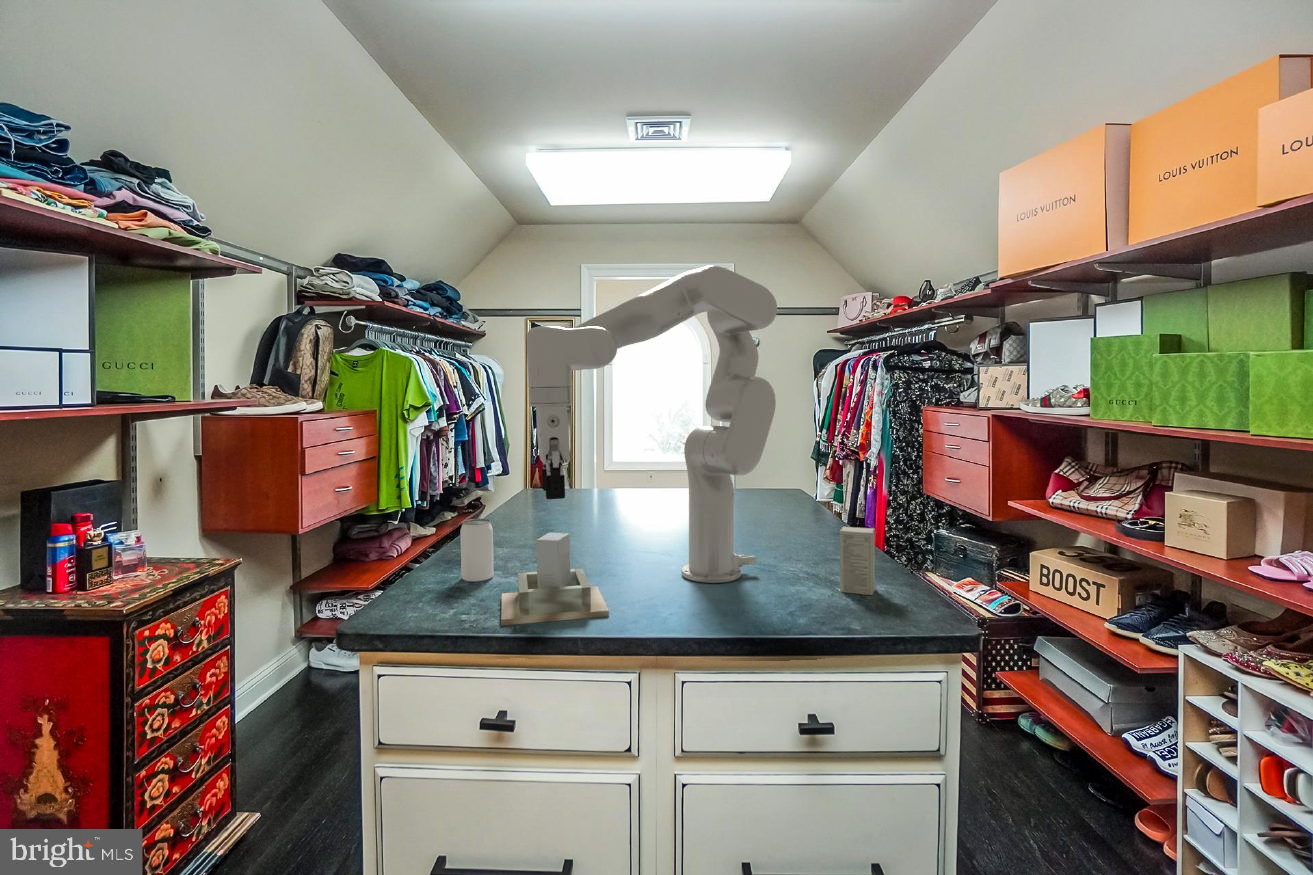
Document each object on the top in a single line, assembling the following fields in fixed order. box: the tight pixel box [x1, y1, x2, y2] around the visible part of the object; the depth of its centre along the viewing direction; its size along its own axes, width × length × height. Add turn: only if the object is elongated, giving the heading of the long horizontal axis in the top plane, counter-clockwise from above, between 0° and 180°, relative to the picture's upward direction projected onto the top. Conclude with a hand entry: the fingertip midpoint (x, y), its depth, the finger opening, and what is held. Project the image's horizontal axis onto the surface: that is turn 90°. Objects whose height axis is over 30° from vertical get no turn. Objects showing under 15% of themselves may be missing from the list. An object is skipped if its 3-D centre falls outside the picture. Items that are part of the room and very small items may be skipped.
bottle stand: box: [500, 568, 610, 626], centre depth 111 cm, size 18×14×5 cm
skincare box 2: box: [839, 526, 876, 596], centre depth 120 cm, size 6×4×12 cm
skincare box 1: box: [535, 532, 571, 588], centre depth 111 cm, size 6×4×12 cm
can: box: [459, 518, 495, 583], centre depth 129 cm, size 6×6×12 cm
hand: (553, 494), depth 110 cm, fingers open, 9 cm apart
